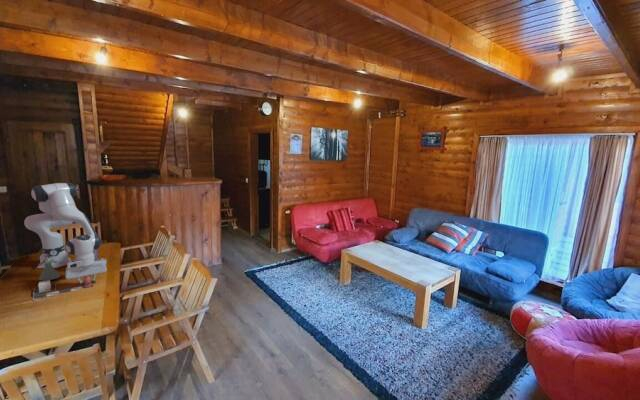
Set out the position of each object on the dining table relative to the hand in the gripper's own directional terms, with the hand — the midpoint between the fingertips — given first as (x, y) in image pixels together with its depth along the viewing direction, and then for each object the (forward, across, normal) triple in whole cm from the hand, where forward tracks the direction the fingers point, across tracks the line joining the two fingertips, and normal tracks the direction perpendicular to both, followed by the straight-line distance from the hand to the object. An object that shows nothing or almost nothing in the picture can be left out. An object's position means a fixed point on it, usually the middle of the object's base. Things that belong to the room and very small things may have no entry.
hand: (87, 281), depth 182 cm
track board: (+4, +11, 0) cm, 12 cm away
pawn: (+3, 0, 0) cm, 3 cm away
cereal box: (+4, -4, -34) cm, 34 cm away
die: (+3, +20, -8) cm, 22 cm away
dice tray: (+4, +20, -8) cm, 22 cm away
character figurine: (+4, +19, -22) cm, 29 cm away
